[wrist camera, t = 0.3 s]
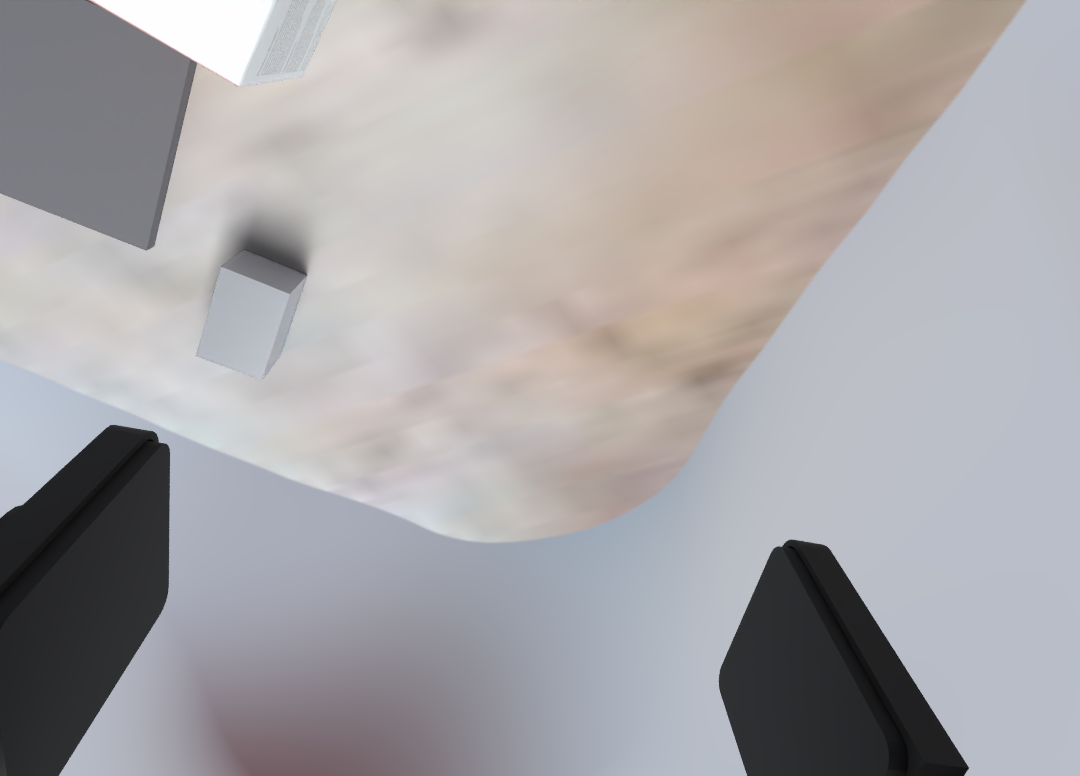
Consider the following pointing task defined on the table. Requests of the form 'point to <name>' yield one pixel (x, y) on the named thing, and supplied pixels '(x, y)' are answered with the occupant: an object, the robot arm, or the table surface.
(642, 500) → the table surface
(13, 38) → the charcoal mat
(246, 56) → the small box
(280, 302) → the light grey rectangular block
